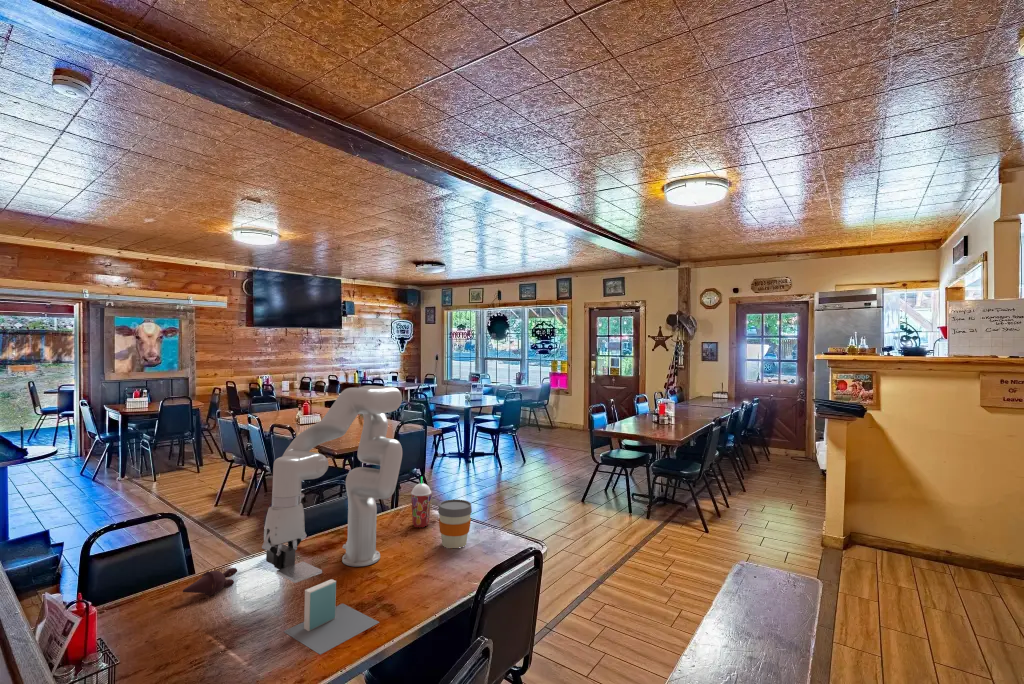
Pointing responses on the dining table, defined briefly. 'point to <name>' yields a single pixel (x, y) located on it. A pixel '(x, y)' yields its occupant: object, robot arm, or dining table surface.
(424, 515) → the smoothie
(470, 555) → the dining table surface
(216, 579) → the icecream
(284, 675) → the dining table surface
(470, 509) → the reusable coffee cup
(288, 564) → the trowel
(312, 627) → the tile
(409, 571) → the dining table surface
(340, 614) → the mat
